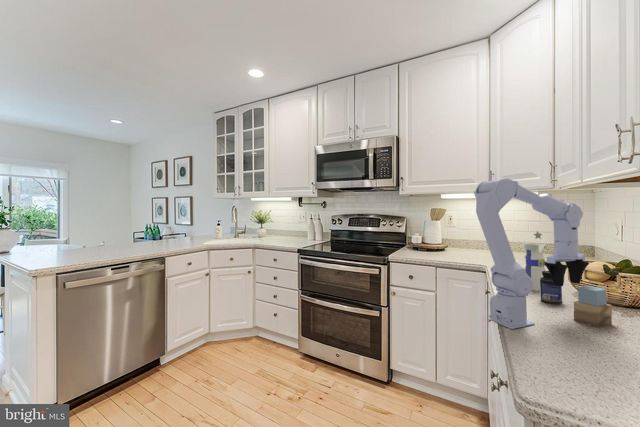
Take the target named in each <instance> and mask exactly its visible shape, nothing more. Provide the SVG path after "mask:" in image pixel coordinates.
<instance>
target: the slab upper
mask: <svg viewBox="0 0 640 427" xmlns="http://www.w3.org/2000/svg"><path fill="white" fill-rule="evenodd" d="M574 312H578V313H582V314H585V315H589V316H592V317H596V318H602V317H607V316H613V305H612V304H608V303H607V305H602V306H598V307H597V306H593V305H589V304H585V303H580V302H578V300H575V301H573V313H574Z"/></svg>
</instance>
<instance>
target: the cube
mask: <svg viewBox="0 0 640 427" xmlns="http://www.w3.org/2000/svg"><path fill="white" fill-rule="evenodd" d="M577 294H578V297H577V298H578V300H577V301H578V302H580V303H585V304H589V305H593V306H597V307H598V306H602V305H607V304H608V303H607V299H608V298H607V288H602V287H601V288H600V287H598V286H592V285H583V286H578V287H577Z"/></svg>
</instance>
